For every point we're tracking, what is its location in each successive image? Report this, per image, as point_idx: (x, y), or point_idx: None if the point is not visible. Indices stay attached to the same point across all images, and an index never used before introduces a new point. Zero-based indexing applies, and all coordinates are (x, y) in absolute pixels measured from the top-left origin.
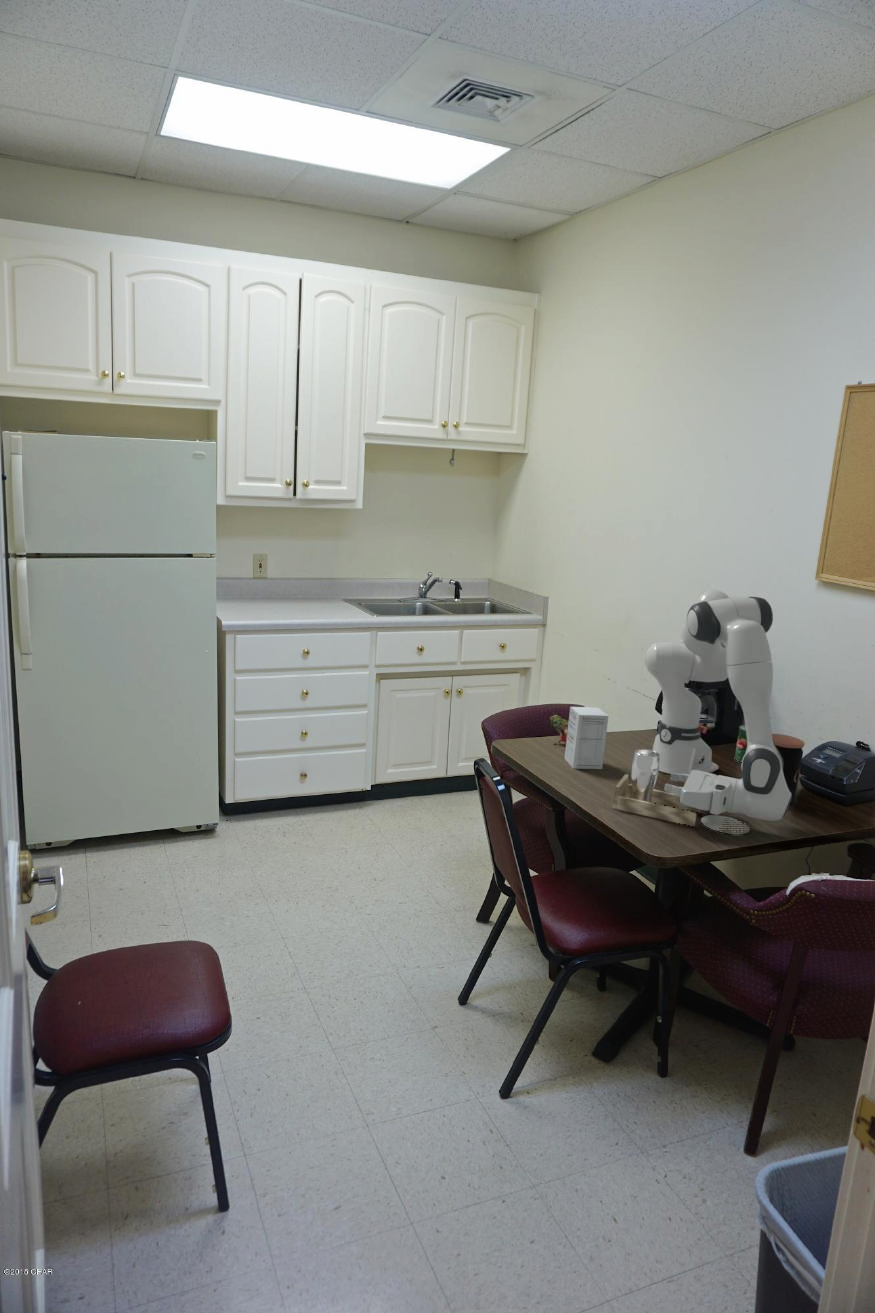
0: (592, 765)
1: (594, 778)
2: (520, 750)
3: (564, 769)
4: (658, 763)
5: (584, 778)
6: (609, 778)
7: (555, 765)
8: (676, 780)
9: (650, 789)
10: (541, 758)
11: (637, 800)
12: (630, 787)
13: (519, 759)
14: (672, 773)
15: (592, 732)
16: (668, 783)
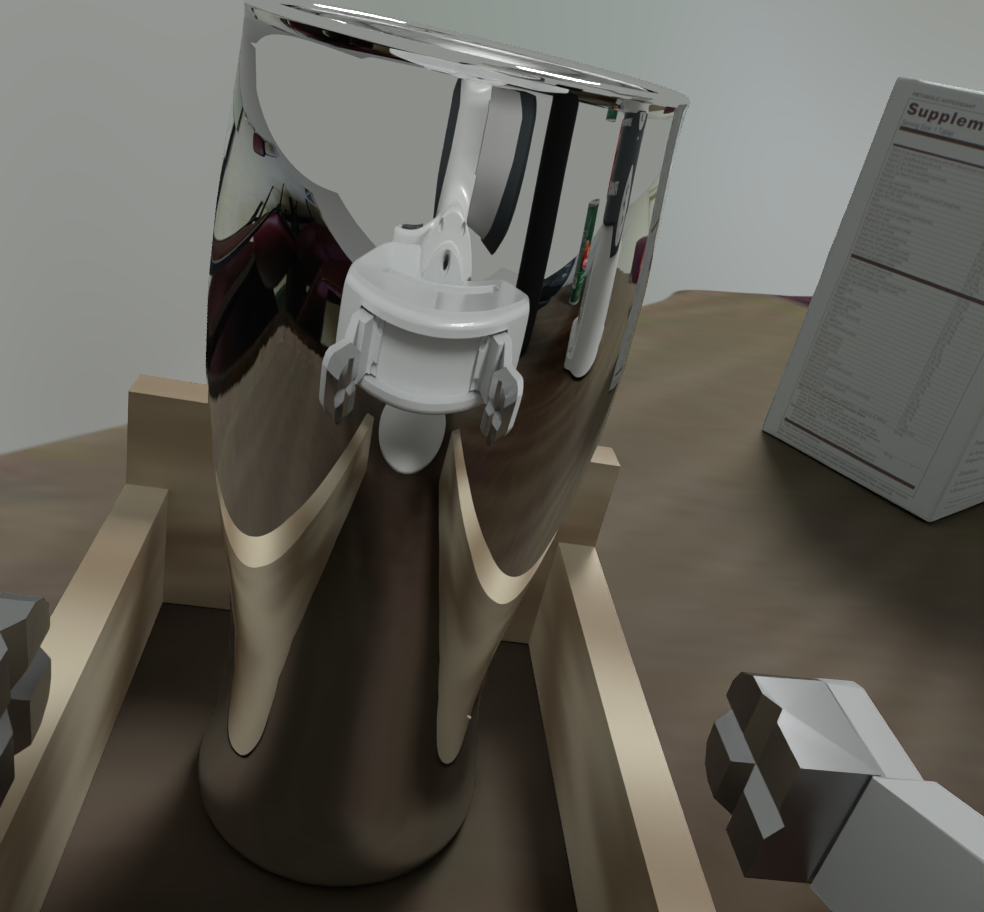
0: (872, 465)
1: (724, 495)
2: (753, 325)
3: (705, 405)
4: (402, 223)
5: (666, 460)
6: (825, 555)
7: (718, 385)
8: (756, 852)
9: (279, 621)
10: (747, 359)
11: (71, 615)
12: (558, 583)
13: (644, 315)
14: (821, 680)
15: (947, 233)
16: (19, 621)
